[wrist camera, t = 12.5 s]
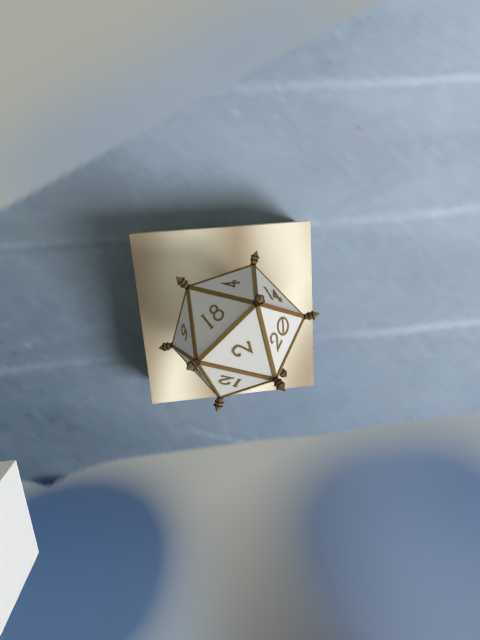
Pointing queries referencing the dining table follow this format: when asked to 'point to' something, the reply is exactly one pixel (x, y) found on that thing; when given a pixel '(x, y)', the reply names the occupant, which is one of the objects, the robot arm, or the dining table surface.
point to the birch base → (206, 262)
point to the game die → (236, 330)
